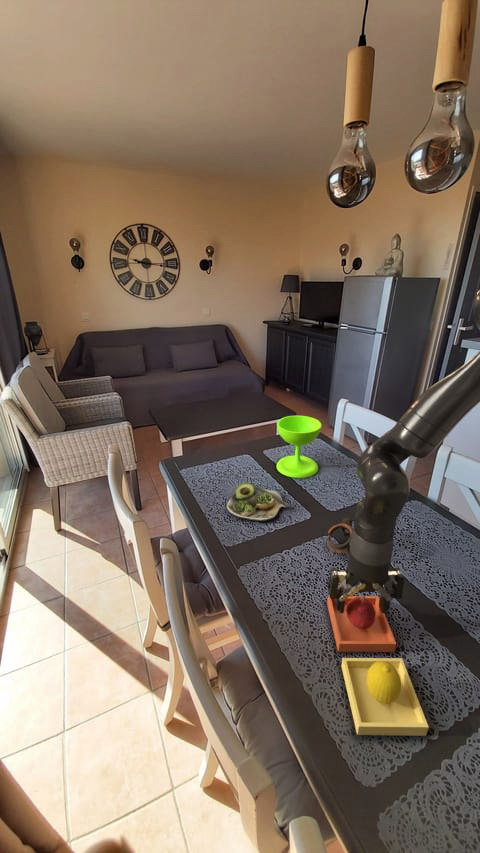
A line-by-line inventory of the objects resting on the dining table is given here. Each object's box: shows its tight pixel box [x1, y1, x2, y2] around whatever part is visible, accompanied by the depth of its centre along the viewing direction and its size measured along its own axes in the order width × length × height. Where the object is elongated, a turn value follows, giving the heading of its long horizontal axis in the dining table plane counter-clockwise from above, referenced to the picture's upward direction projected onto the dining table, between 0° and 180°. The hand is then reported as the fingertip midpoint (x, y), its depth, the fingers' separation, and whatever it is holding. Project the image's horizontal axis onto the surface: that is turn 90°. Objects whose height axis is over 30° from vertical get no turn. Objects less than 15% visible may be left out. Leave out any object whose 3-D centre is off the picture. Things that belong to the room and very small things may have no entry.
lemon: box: [367, 661, 401, 704], centre depth 63 cm, size 6×6×8 cm
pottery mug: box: [326, 517, 354, 556], centre depth 98 cm, size 12×10×8 cm
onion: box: [346, 595, 376, 629], centre depth 75 cm, size 6×6×8 cm
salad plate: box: [225, 482, 290, 522], centre depth 116 cm, size 19×18×5 cm
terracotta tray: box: [326, 595, 397, 653], centre depth 77 cm, size 11×11×2 cm
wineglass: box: [276, 415, 322, 479], centre depth 135 cm, size 16×16×18 cm
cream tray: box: [341, 657, 430, 737], centre depth 64 cm, size 11×11×2 cm
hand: (361, 609), depth 75 cm, fingers open, 8 cm apart
